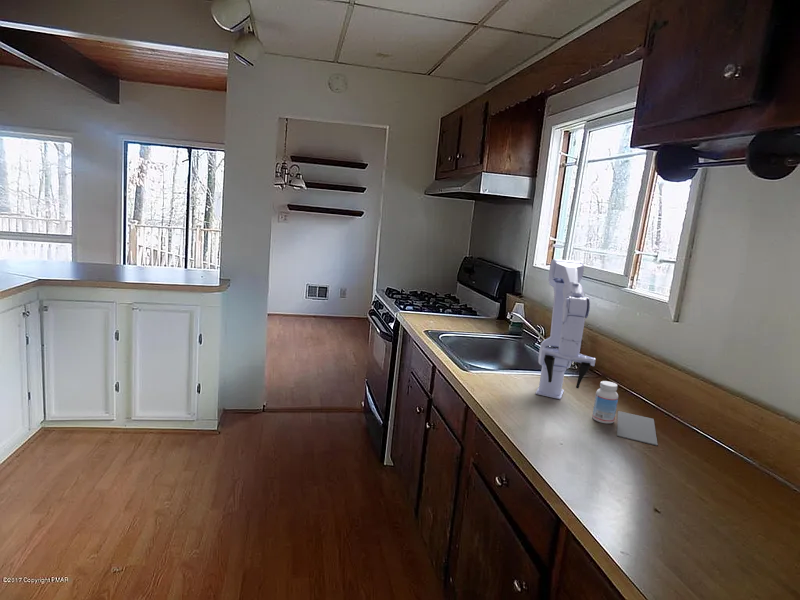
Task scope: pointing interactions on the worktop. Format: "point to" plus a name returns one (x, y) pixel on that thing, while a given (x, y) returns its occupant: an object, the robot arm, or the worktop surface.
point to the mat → (636, 428)
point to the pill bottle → (605, 402)
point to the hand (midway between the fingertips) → (563, 384)
